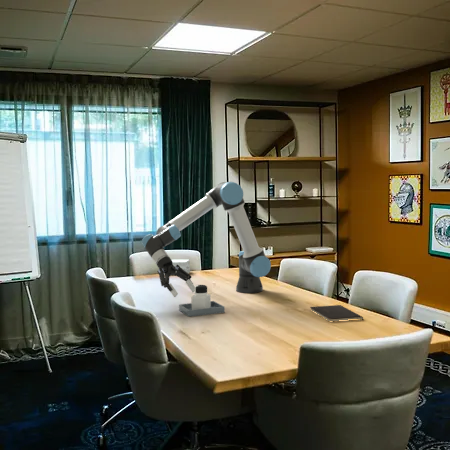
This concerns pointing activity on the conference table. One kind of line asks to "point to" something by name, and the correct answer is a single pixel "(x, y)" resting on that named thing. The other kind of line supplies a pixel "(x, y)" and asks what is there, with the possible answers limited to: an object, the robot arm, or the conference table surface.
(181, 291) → the conference table surface
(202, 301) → the medicine bottle
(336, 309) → the hardcover book
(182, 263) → the supplement box
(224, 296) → the conference table surface
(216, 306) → the tray
